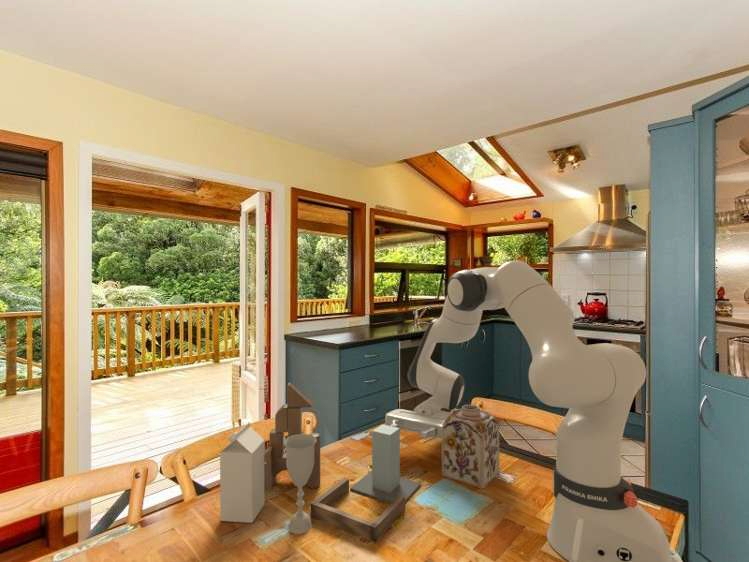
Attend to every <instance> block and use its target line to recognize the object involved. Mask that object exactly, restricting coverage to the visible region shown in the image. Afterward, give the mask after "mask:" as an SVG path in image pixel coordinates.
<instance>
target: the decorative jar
mask: <svg viewBox="0 0 749 562" xmlns="http://www.w3.org/2000/svg"><path fill="white" fill-rule="evenodd" d="M442 427H443V428H442V438H441V475H442V476H443V477H445V478H449V479H452V480H454V481H457V482H460V483H463V484H465V483H466V485H468V486H472V487H475V488H477V489H480V490H483V489H484V488H485V487H487V485H488V484H489V483H490V482H491V481H492V480H493V478H494V477H496V475H497V474H498V473H499V472H500V423H499V422H498V420H497V419H496V418H495V416H494V415H492V414H491V413H490V412H488V411H487V410H483V409H481V408H480V406H478V405H475V404H463V405H462V406H461V408H456V409H455V410H453V411H451V412H450V413H449V414H448V416H447V418H446V419H445V422H444V424H443V426H442Z"/></svg>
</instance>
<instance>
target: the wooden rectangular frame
mask: <svg viewBox="0 0 749 562" xmlns="http://www.w3.org/2000/svg"><path fill="white" fill-rule="evenodd" d="M348 492H350V478H348V477H344V478H342V479H341V480H340V481H338V482H337V483H336V484H334V485H333V486H332V487H330V488H329V489H327V490H326V491H325V492H324V493H322V494H321V495H320V496H318V497H317V498H316V499H315V500H313V501H312V502H310V518H312V519H314V520H317V521H319V522H322V523H325V524H327V525H329V526H332V527H334V528H336V529H340V530H342V531H345V532H347V533H349V534H352V535H354V536H357V537H359V538H362V539H364V540H367V541H370V542H372V543H375V544H376V543H377V542H378V541H379V540H380V538H381V537H382V536H383V535H384V534H385V533H386V531H388V529H389V528H390V527H391V526H392V525H393V523H394V522H395V521H397V519H398V518H399V517H400V516H401V515H402V514H403V513H404V512H405V510H406V502H405V496H402V495H400V496H399V497H398V498H397V499H396V500H395V501H394V502H393V503H392V504H391V503H390V505H389V506H388V507H386V509H385V510H384V511H383V512H382V513H381V514H380V515H379V516H378V517H377V518H376V519H375V520H374V521H373V522H372V521H370V520H366V519H365V518H362V517H359V516H356V515H354V514H351V513H349V512H345V511H343V510H340V509H338V508H335V507H332V505H334V504H335V503H336V502H337V501H339V500H340V499H341V498H342V497H344V496H345V495H346V494H347V493H348Z"/></svg>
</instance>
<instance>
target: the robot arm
mask: <svg viewBox="0 0 749 562" xmlns="http://www.w3.org/2000/svg"><path fill="white" fill-rule="evenodd" d="M503 308H504V310H505V311H506V313H507V314H508V315H509V316H510V317H511V320H513V323H515V325H516V327H517V328H518V329H519V330H520V332H521V334H522V335H523V337H524V338H525V340H526V342H527V345H528V347H529V349H530V353H531V356H532V361H531V362H530V365H529V368H528V382H529V385H530V388H531V390H532V392H533V393H534V395H535V396H536V398H537V399H538V400H539V401H541V402H542V403H543V404H545V405H547V406H548V407H549V406H550V407H553V408H554V407H555V408H564V409H568V411H567V413H566V414H565V416H564V418H563V419H562V420H561V421H560V423H558V426H557V428H556V438H555V439H556V441H555V442H556V444H555V446H556V447H555V448H556V454H555V456H556V457H555V458H556V460H555V461H556V463H555V464H554V468H553V472H552V474H553V475H552V491H553V495H554V502H553V509H552V515H551V519H550V523H549V525H548V528H547V531H546V537H547V541H548V542H549V544H550V546H551V548H552V549H554V550H555V551H556V552H557V554H559V555H560V556H561V557H562V558H564V559H565V560H567V561H568V562H684V561H683V560H682V557H681V556H680V555H679V554H678V552H677V551H676V550H675V549H674V548H673V547H671V546H672V545H671V546H670V543H669V539H668V537H667V535H666V531H665V530H664V528H663V526H662V524H660V522H659V520H657V519H656V518H654V517H653V516H652V515H650V513H648V512H647V511H646V510H645V509H643V507H642V506H640V505H639V504H638V498H637V495H636V494H635V493H634V487H633V486H632V483H631V481H630V478H627V480H625V479H624V478H623V477H622V476H621V474H622V473H621V472H622V471H621V470H622V469H621V468H622V443H623V436H624V432H625V429H626V428H625V427H626V424H627V420H628V417H629V414H630V410H631V407H632V404H633V401H634V399H635V396H636V395H637V392H639V390H640V389H641V388H642V386H643V385H644V383H645V381H646V378H647V377H646V376H647V369H646V365H645V362H644V360H643V359H642V357H641V356H640V355H639V354H638V353H637V352H636V351H635V350H634V349H632V348H629V347H628V346H624V345H621V344H615V343H608V342H604V343H603V342H602V343H594V344H585V343H583V342H582V341H580V339H579V338H578V336H577V334H576V333H575V332H576V331H574V328H573V325H574V323H575V317H576V316H575V313H574V311H573V309H572V308H571V307H570V306H569V305H568V303H566V301H565V300H564V299H563V298H562V297H561V296H560V294H559V293H558V292H557V291H556V289H555V288H554V287H553V286H552V285H551V283H549V282H548V281H547V280H546V279H545V277H543V276H542V274H540V273H539V272H538V271H536V270H535V269H534V268H533V267H532V266H530V265H529V264H528V263H526V262H525V261H523V260H522V261H521V260H517V259H515V260H514V259H513V260H509V261H506V262H505V263H503V264H501V265H500V266H499V267H498V266H497V267H495V266H494V267H493V266H492V267H491V266H490V267H489V266H485V267H477V268H473V269H463V270H459V271H457V272H455V273H453V274H452V275H451V276H450V277H449V279H448V281H447V284H446V297H445V300H444V303H443V308H442V311H441V315H440V316H439V317H438V318H434V319H433V320H431V322H430V323H429V324H428V326H427V327H426V330H425V331H424V334H423V336H422V339H421V341H420V344H419V346H418V349H417V351H416V354H415V356H414V358H413V360H412V363H411V364H410V365H409V368H408V371H407V375H406V376H407V379H408V382H409V383H410V386H411V387H413V388H415V389H419V390H421V391H424V392H426V393H428V394H429V395H432V396H430V397H429V398H427V399H426V400H424V401H422V402H421V403H419V404H418V405H416V406H415V407H414V409H413V410H407V409H401V408H396V409H394V410H391V411H389V412H387V413H385V415H384V416H385V417H384V419H385V425H388V426H392V427H397V428H400V430H401V431H405V432H410V433H411V432H412V433H415V434H421V436H420V439H423V440H428V439H429V438H438V439H442V428H443V427H442V426H443V424H444V422H445V419H446V418H447V416H448V414H449V413H450V412H451V411H453V410H455V409H457V408H458V407H459V406H460V405H461V403H462V400H463V398H464V396H465V392H466V383H465V380H464V378H463V376H462V374H460V373H457V372H456V371H453V370H452V369H449V368H447V367H444V366H443V365H440V364H438V363H437V362H434V361H433V360H432V359H431V356H432V354H433V352H434V350H435V348H436V345H437V343H447V344H449V343H450V344H460V343H461V344H462V343H464V342H468V341H469V340H471V339H473V338H474V337H475V336H476V334H477V332H478V330H479V327H480V324H481V319H482V316H483V313H484V312H483V311H487V310H488V311H495V310H498V309H499V310H500V309H503Z"/></svg>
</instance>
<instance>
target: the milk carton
mask: <svg viewBox="0 0 749 562" xmlns="http://www.w3.org/2000/svg"><path fill="white" fill-rule="evenodd" d="M227 440H228V441H229V442H230V443H229V444H227V445H226V446H225V447H224V448H223V449H222V450H221V451H220V452H219V471H220V472H219V475H220V477H219V479H220V480H219V483H220V484H219V493H220V494H219V495H220V496H219V497H220V499H219V506H220V510H219V512H220V513H219V515H220V516H219V517H220V519H219V520H220V521H221V522H230V523H231V522H232V523H247V524H248V523H249V524H250V523H251V524H253V522H254V521H255V520H256V518H257V516H258V515H259V513H260V512H261V511H262V509H263V507H264V506H265V490H264V450H265V439H264V438H263V437H262V436H261V435H260V434H259V433H257V432H256V431H255V430H254V429H253V428H252V427H251V422H247V423H246V424H245V425H244V426H242V427H241V428H240V429H239V430H238V431H234V432H233V433H231V435H230V436H228V437H227Z"/></svg>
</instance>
